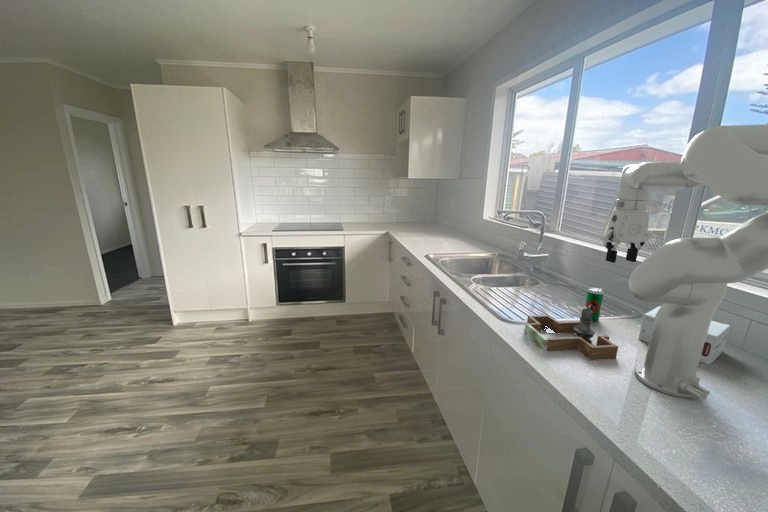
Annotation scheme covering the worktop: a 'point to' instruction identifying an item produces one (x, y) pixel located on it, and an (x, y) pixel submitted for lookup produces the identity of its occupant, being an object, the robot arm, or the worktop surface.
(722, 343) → the supplement box
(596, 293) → the soda can
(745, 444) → the worktop surface
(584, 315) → the stone chess piece
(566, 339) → the wooden zigzag wall frame
